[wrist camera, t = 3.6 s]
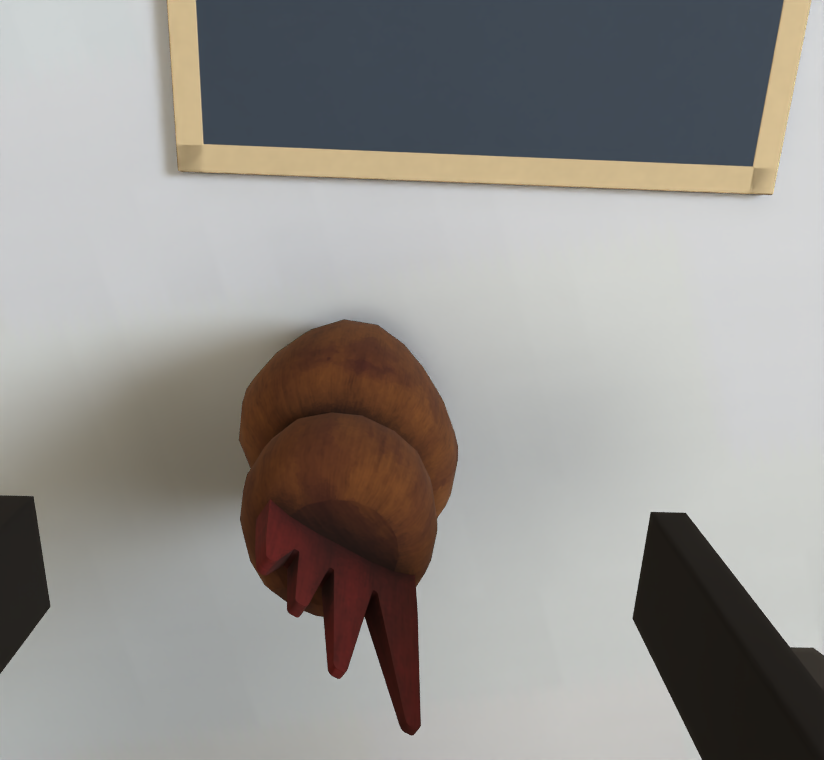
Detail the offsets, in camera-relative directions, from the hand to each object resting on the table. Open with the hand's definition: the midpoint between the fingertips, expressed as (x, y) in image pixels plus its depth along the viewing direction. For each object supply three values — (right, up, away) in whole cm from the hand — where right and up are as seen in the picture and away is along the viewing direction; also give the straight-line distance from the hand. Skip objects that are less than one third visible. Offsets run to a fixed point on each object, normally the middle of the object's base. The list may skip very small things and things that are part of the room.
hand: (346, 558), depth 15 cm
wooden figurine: (-1, +4, +11) cm, 12 cm away
